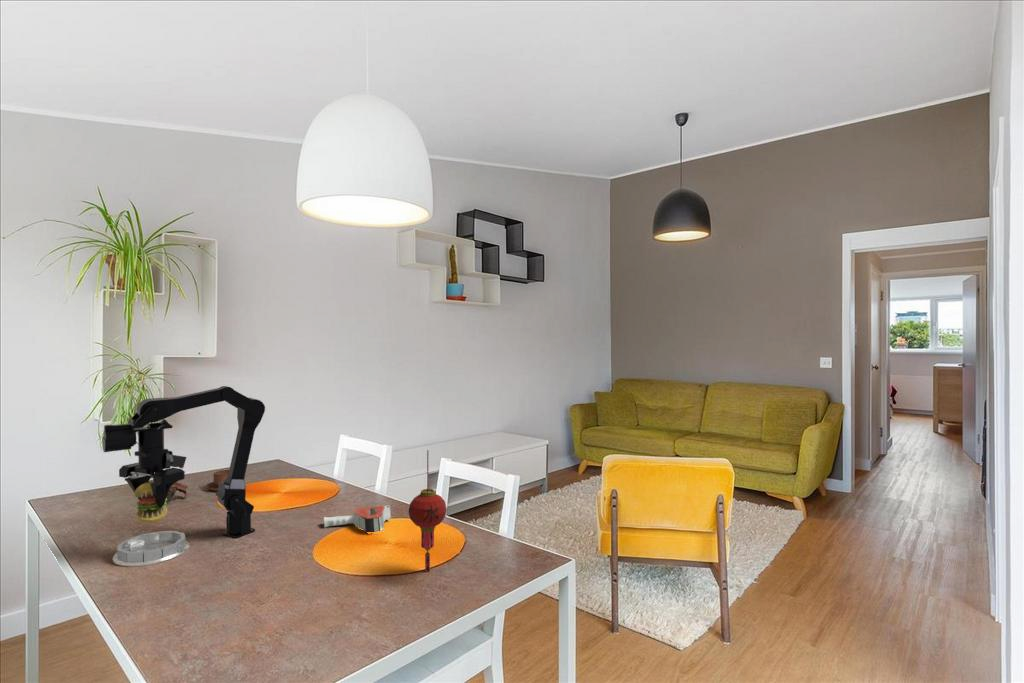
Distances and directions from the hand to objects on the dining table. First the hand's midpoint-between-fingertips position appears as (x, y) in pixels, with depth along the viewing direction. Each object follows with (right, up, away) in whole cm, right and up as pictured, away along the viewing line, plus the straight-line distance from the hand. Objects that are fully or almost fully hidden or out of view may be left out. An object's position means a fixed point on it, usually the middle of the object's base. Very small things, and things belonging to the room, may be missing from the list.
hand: (152, 505), depth 145 cm
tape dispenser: (+50, -13, +21) cm, 56 cm away
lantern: (+75, -14, -10) cm, 77 cm away
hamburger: (0, -4, 0) cm, 4 cm away
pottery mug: (-23, -12, +44) cm, 51 cm away
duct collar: (0, -13, 0) cm, 13 cm away
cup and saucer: (-12, -12, +60) cm, 63 cm away
